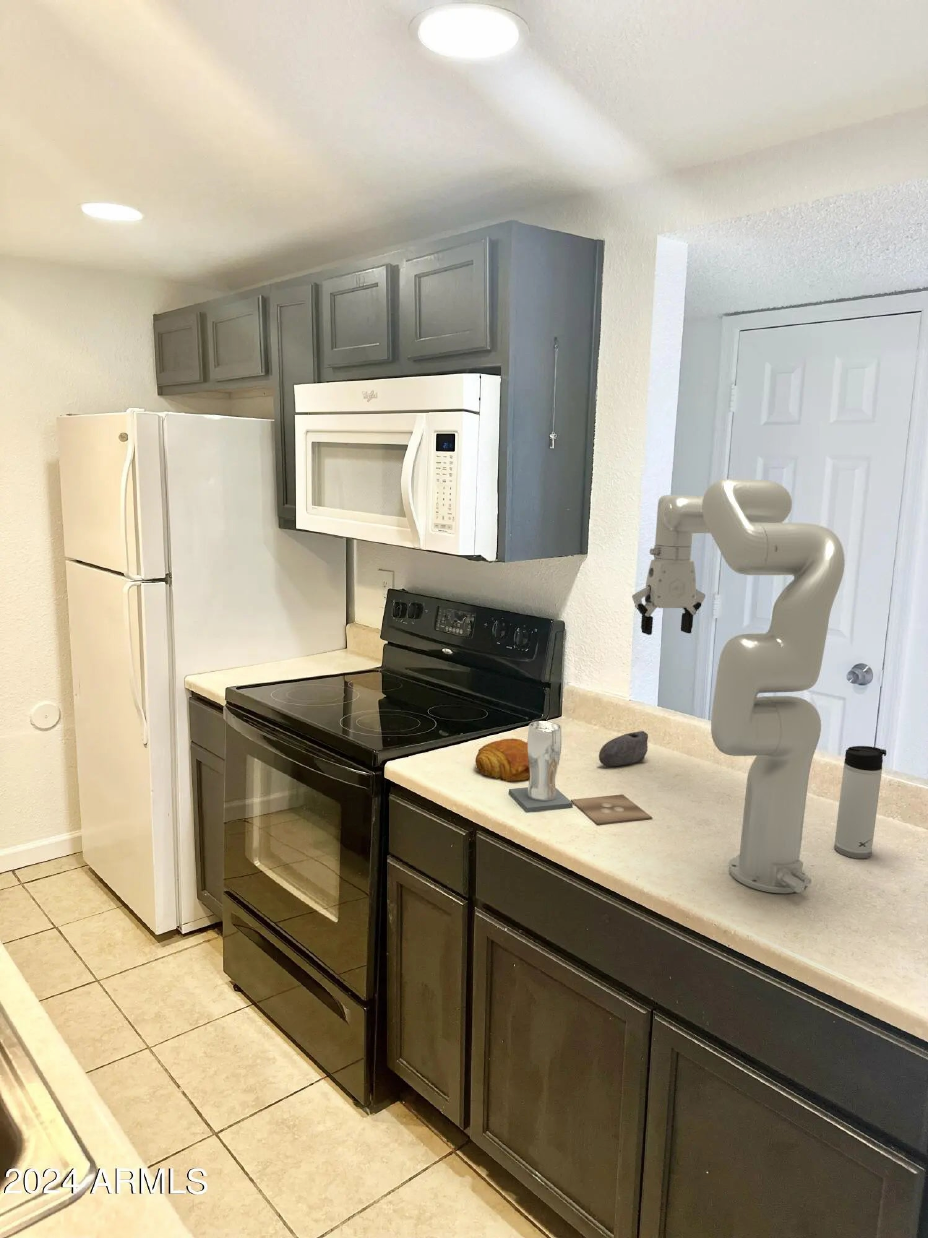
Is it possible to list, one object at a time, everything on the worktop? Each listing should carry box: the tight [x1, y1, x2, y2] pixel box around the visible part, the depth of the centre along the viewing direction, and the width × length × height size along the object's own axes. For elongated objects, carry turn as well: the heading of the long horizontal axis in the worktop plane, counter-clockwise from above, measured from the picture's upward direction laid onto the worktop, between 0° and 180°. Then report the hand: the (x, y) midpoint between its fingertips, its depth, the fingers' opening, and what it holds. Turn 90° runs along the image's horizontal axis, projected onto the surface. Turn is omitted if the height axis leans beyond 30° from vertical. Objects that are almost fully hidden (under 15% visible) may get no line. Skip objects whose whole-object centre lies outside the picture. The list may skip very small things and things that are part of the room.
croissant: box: [474, 737, 530, 782], centre depth 188 cm, size 14×16×8 cm
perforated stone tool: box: [598, 730, 649, 767], centre depth 196 cm, size 15×5×7 cm, turn 122°
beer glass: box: [527, 720, 562, 801], centre depth 171 cm, size 7×7×15 cm
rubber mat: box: [508, 786, 574, 813], centre depth 173 cm, size 10×10×1 cm
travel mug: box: [833, 745, 887, 860], centre depth 152 cm, size 6×7×20 cm
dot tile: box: [570, 794, 653, 826], centre depth 169 cm, size 12×12×1 cm
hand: (666, 633), depth 181 cm, fingers open, 9 cm apart
